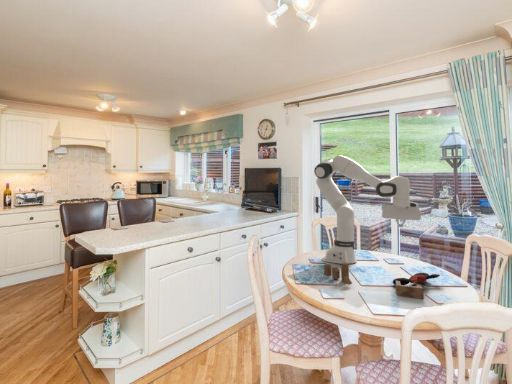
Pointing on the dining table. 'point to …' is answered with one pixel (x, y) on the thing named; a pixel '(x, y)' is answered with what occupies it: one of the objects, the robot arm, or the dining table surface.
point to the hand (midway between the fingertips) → (400, 226)
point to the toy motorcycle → (415, 278)
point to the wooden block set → (338, 272)
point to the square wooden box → (409, 290)
